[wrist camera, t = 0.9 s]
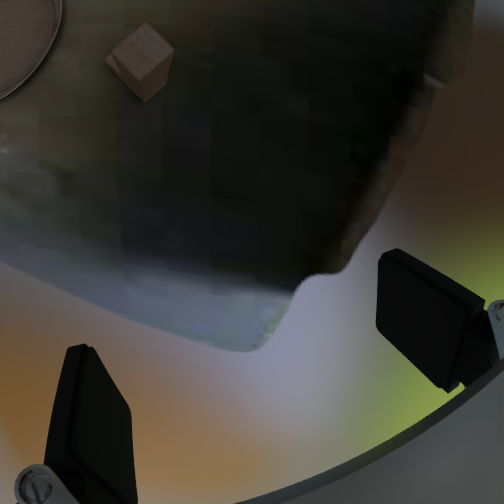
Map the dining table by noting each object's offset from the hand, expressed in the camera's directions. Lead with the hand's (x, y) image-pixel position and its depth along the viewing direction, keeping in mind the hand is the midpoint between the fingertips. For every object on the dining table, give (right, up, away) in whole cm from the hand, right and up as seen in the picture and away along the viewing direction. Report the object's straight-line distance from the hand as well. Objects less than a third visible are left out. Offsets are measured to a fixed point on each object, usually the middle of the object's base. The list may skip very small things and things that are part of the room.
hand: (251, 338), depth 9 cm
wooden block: (-13, +22, +21) cm, 33 cm away
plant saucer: (-30, +28, +13) cm, 43 cm away
